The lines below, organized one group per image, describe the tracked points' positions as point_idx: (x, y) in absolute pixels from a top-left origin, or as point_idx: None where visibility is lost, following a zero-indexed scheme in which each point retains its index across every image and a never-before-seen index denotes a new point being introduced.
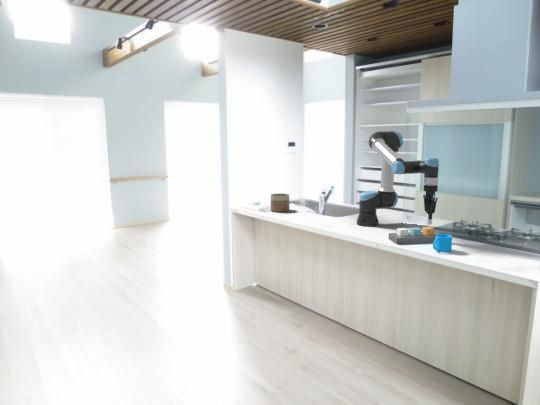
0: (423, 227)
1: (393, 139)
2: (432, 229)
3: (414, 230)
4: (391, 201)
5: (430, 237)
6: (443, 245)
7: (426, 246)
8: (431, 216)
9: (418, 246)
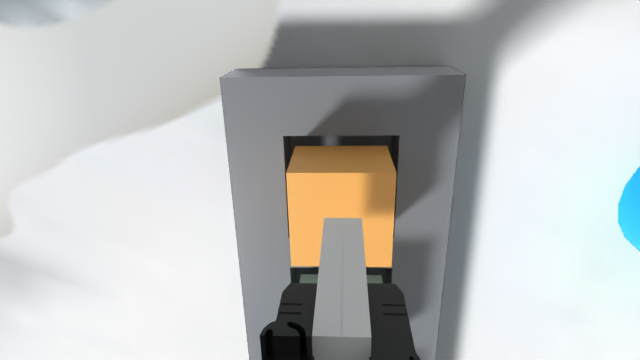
0: (302, 264)
1: None
2: (393, 195)
3: None
4: None
5: (449, 215)
6: None
7: (535, 271)
8: (407, 329)
9: (514, 323)
